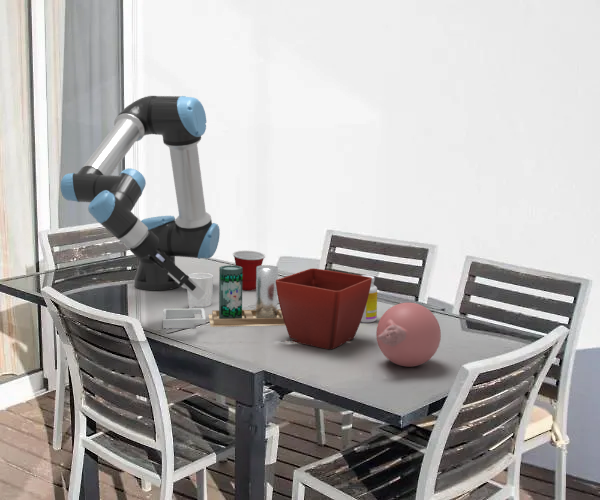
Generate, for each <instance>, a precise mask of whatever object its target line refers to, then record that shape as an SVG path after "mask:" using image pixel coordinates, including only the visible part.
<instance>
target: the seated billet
mask: <svg viewBox="0 0 600 500" xmlns="http://www.w3.org/2000/svg"><path fill="white" fill-rule="evenodd" d="M278 275H279V267H278V266H276V265H271V264H269V265H268V264H267V265H266V264H265V265H263V264H262V265H261V266H257V267H256V290H255V310H256V318H277V309H278V295H277V289H276V280H277V279H279V276H278Z"/></svg>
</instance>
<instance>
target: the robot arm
mask: <svg viewBox="0 0 600 500" xmlns="http://www.w3.org/2000/svg"><path fill="white" fill-rule="evenodd" d="M206 114H207V113H206V111H205V108H204V106H203V104H202V102H201V101H199V99H198V98H197V97H192V96H185V95H178V96H177V95H176V96H175V95H173V96H172V95H168V96H167V95H147V96H144V97H141V98H139V99H136V100H135V101H133V102H132V103H130V104H129V105H126V107H125V108H124V109H122V110H121V112H119V113H118V115H117V116H116V118H115V119H114V122H113V127H112V128H111V130H110V131H109V132H108V133H107V135H106V136H105V137H104V139H103V140H102V141H101V143H100V144H99V145H98V146H97V147H96V149H95V150H94V151H93V153H92V154H91V155H90V157H89V158H88V159H87V161H86V162H85V163H84V164H83V165H82V167H81V168H80V169H79V170H78V172H77V173H75V172H72V173H65V175H63V176H62V179H61V180H60V187H59V188H60V192H61V195H62V197H63V198H64V199H65V200H66V201H71V202H76V203H89V205H88V208H87V211H88V213H89V214H90V215H91V216H92V217H93V218H94V219H95V220H96V222H98V223H99V224H100V225H101V226H102V227H103V228H104V229H105V230H107V231H108V232H109V233H110V234H111V235H113V237H115V238H116V239H117V240H118V241H119V242H118V244H119V245H120V246H121V245H124V246H125V247H126V248H127V249H129V250H130V252H131V253H132V254H133V255H135V257H137V259H139V264H138V266H137V270H136V273H135V276H134V281H133V284H134V287H135V288H136V289H139V290H143V291H144V290H145V291H168V290H173V289H177V288H180V287H181V288H182V289H186V291H187V290H188V291H189V292H190V293H191V294H192V295H193V296H194V297H196V298H197V299H198V300H199V299H200V298H201V297H202V296H203V295H204V294H205V292H204V291H203V290H202V289H201V288H200V287H199V286H198V285H197V284H196V283H195V282H194V281H192V280H191V279H190V278H189V276H188V274H186V273H185V272H184V271H183V270H182V269H181V268H179V267H178V265H177V264H176V257H180V258H192V259H193V258H194V259H199V260H201V259H211V258H212V257H213V256H214V255H215V253H216V252H217V249H218V246H219V243H220V237H221V236H220V234H221V233H220V231H221V230H220V229H221V228H220V226H219V224H217V223H215V222H212V221H213V220H212V217H211V214H210V213H209V212H207V211H206V203H205V197H204V196H205V195H204V189H203V180H202V172H201V167H200V165H201V164H200V157H199V148H198V144H199V142H201V140H202V136H203V135H204V134H205V132H206V129H207V115H206ZM148 135H155V136H156V135H157V136H158V135H159V136H162V140H163V141H162V142H163V144H164V145H165V146H166V147H168V149H169V155H170V161H171V168H172V169H171V170H172V175H173V182H174V189H175V195H176V202H177V203H176V204H177V209H178V216H177V217H175V216H174V215H161V216H160V215H159V216H152V217H148V218H147V217H146V218H144V219H142V220H141V219H139V217H137V216H136V215H135V214H134V213H133V212H132V211H133V209H134V207H135V205H136V204H137V202H138V201H139V199H140V197H142V195H143V191H144V190H145V188H146V185H147V183H146V178H145V177H144V174H142V173H141V171H138V170H137V169H134V168H131V167H130V168H125V169H123V170H122V171H121V172H119V175H112V174H113V173H114V171H115V170H116V169H117V167H118V166H119V165H120V163H121V162H122V161H123V159H124V158H125V156H126V155H127V154H128V152H129V151H130V149H131V148H132V147H133V145H134V144H135V143H136V142H139V141H141V140H142V139H143V138H144V137H145V136H148Z"/></svg>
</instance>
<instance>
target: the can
mask: <svg viewBox="0 0 600 500" xmlns="http://www.w3.org/2000/svg"><path fill="white" fill-rule="evenodd" d="M218 270H219V276H218V277H219V279H218V281H219V287H218V288H219V289H218V290H219V291H218V293H219V295H218V299H219V300H218V310H219V319H236V318H242V310H243V290H242V274H243V268H242V267H241V266H236V265H221V266H219V269H218Z"/></svg>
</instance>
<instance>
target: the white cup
mask: <svg viewBox="0 0 600 500" xmlns="http://www.w3.org/2000/svg"><path fill="white" fill-rule="evenodd" d="M187 275H188V276H189V278H190V279H191V280H192V281H194V282H195V283H196V284H197V285H198V286H199V287H200V288H201V289H202V290H203V291H204V292H205V294H204V295H203V296H202V297H201V298H200V299H199V300H198V299H197V298H196V297H194V296H193V295H192V294H191V293H190V292H189V291H188V290H187V289H186V291H187V292H186V293H187V301H188V303H187V304H188V309H195V308H204V307H210V306H211V305H212V300H213V290H214V289H213V285H214V275H213V274H212V273H208V272H195V273H194V272H193V273H192V272H191V273H189V274H187ZM194 307H195V308H194Z"/></svg>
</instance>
